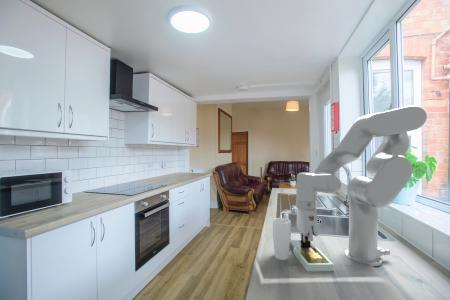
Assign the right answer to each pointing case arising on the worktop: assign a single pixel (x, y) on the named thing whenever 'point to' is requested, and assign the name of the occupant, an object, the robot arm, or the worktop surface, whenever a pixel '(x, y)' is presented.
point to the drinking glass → (281, 237)
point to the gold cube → (306, 251)
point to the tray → (324, 266)
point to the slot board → (299, 245)
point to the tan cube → (313, 258)
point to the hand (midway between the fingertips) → (305, 250)
